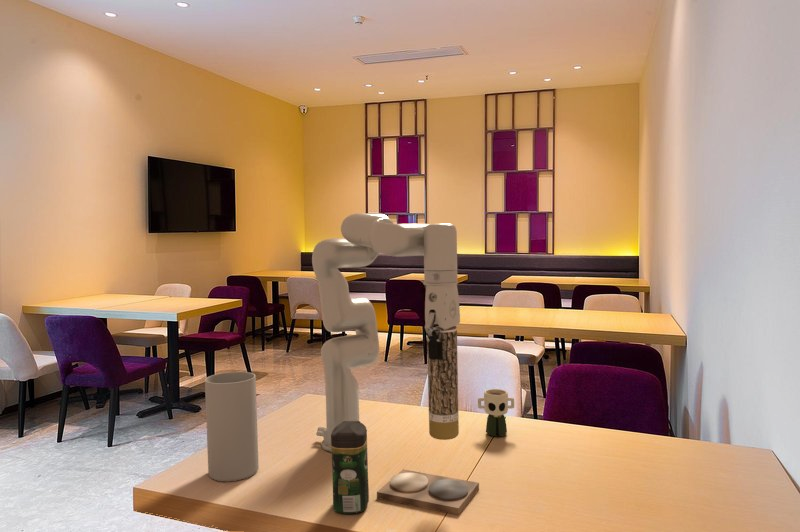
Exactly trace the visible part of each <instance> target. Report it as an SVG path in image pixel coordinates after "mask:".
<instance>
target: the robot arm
mask: <svg viewBox="0 0 800 532" xmlns="http://www.w3.org/2000/svg"><path fill="white" fill-rule="evenodd" d="M340 232H341V235H342V237H340V238H339V237H337V238H336V237H335V238H328V239H323V240H321V241H319V242H318V243H317V244H316V245H315V246H314V248H313V251H312V254H311V255H312V257H311V263H312V269H313V273H314V275H315V278H316V280H317V281H316V282H317V284H318V289H319V290H318V291H319V299H320V308H321V309H320V310H321V317H322V322H323V323H322V324H323V326H324V329H325V330H326V331H327V332H329V333H342V332H351V331H355V334H352V335H344V336H337V337H333V338H330V339H328V340H326V341H325V342H324V343H323V345H322V347H321V349H320V358H321V362H322V369H323V373H324V385H325V386H324V387H325V415H326V417H325V418H326V422H325V423H326V424H325V425H326V427H323V426H318V427H317V430H316V433H315V434H316V436H317V437H323V440H322V441H321V448H322V449H323V450H324V451H327V452H329V453H332V452H331V433H332V431H333V429H334V428H335V427H336V426H337V425H339V424H340V423H342V422H343V421H360V401H359V400H360V397H359V396H360V395H359V394H360V393H359V382H358V380H357V378H356V377H355V375H354V374H353V372H352V370H353V369H357V368H362V367H363V368H364V367H366V366H371V365H374V364H375V363H377V362H378V359H379V357H380V342H379V340H380V339H379V332H378V323H377V322H378V321H377V316H376V310H375V308H374V306H373V304H372V302H371V301H370V300H369V299H367V298H365V297H361V296H360V297H359V296H358V297H351V296H350V290H349V289H350V288H349V283H348V281H347V278H346V277H345V276H344V274H343V273H342V272H341V271H340V270H339V269H343V268H345V269H346V268H347V269H348V268H362V267H363V268H364V267H367V266H369V265H371V264H372V263H374V261H375V260H376V259H377V258H378V256H379V255H380V254H382V255H385V256H390V257H391V256H392V257H415V256H423V268H424V270H423V272H424V273H423V275H424V277H423V278H424V282H423V283H424V285H425V286H426V287H425V288H426V289H425V298H424V299H425V300H424V321H425V324H424V329H425V332H426V337H427V336H428V339H426V341H427V340H428V348H429V359H436V360H441V359H443V344H442V342H440V341H441V336H442V330H447V329H450V328H452V327H457V326H458V325H460V323H461V314H460V313H461V312H460V297H459V291H458V243H457V242H458V236H457V235H458V234H457V232H458V231H457V228H456V225H454V224H452V223H394V221H393V220H392V219H391V218H390V217H389V216H387V215H386V214H383V213H370V212H369V213H362V212H361V213H359V212H357V213H353V214H349V215H347V216H346V217H345V218H344V219H343V220H342V222H341V225H340ZM437 326H439V327H437ZM435 331H438V334H436V332H435Z"/></svg>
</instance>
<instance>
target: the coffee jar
mask: <svg viewBox="0 0 800 532" xmlns="http://www.w3.org/2000/svg"><path fill="white" fill-rule="evenodd" d="M367 432H368V430H367V427H366V425H365V424H363V423H362V422H361V421H360V420H359V421H343V422H342V423H340V424H339V425H337V426H336V427H335V428H334V429H333V431H332V433H331V452H330V453H331V468H332V469H331V472H332V473H331V474H332V507H333V510H334V511H335V512H337V513H339V514H342V515H354V514H357V513H362V512H364V511H365V509H366V508H367V507H368V503H369V501H370V500H369V499H370V492H369V491H370V489H369V467H368V466H369V465H368V461H369V460H368V458H369V457H368V434H367Z"/></svg>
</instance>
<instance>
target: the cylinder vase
mask: <svg viewBox="0 0 800 532" xmlns="http://www.w3.org/2000/svg"><path fill="white" fill-rule="evenodd" d="M204 390H205V391H204V393H205V414H206V415H205V416H206V418H205V420H206V443H207V445H206V446H207V448H206V449H207V468H208V470H207V473H208V476H209V478H211V479H212V480H213V479H214V481H216V480H217V482H221V481H233V482H237V480H239V481H242V480H241V479H243V480H245V478H246V479H248V478H250V477H252V476H254V475H255V474H256V473H257V472H258V470H259V466H260V465H259V443H258V442H259V440H258V439H259V438H258V437H259V436H258V435H259V434H258V409H257V407H258V405H257V404H258V403H257V380H256V374H255V373H253V372H249V371H229V372H220V373H216V374H212V375H209V376H207V377H206V378H205V379H204ZM247 477H248V478H247Z"/></svg>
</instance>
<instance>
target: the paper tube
mask: <svg viewBox="0 0 800 532" xmlns="http://www.w3.org/2000/svg"><path fill="white" fill-rule="evenodd" d="M437 327H439V326H437ZM435 332H436V334H438V331H435ZM426 338H427V339H428V336H427V335H426ZM427 339H426V342H427V343H426V345H427V350H426V351H427V379H428V380H427V386H428V387H427V389H428V390H427V391H428V394H427V395H428V398H427V399H428V427H429V428H428V432H429V436H430V437H431V438H432V439H433V438H434V439H435V440H440V441H444V440H445V441H447V440H448V441H449V440H452V439H456V438H457V437H458V436H459V433H460V430H459V429H460V427H459V424H460V423H459V373H458V367H459V365H458V329H457V326H456V327H452V328H450V329H447V330H442V336H441V341H440V342H442V344H443V359H441V360H436V359H429V348H428V340H427Z"/></svg>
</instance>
